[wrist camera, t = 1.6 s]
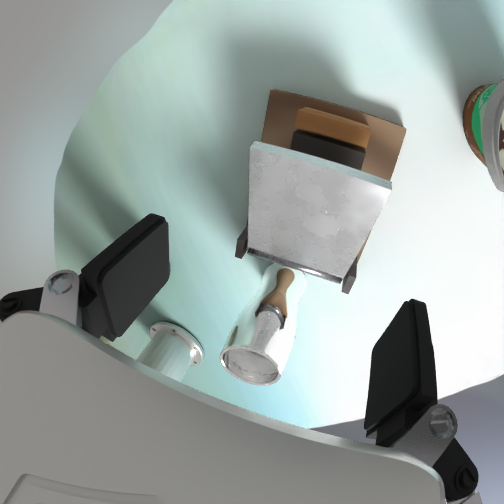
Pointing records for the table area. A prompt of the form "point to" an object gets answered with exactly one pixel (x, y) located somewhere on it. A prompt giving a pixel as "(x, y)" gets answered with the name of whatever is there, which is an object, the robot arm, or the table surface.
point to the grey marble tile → (310, 210)
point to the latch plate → (375, 146)
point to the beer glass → (265, 328)
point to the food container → (487, 128)
